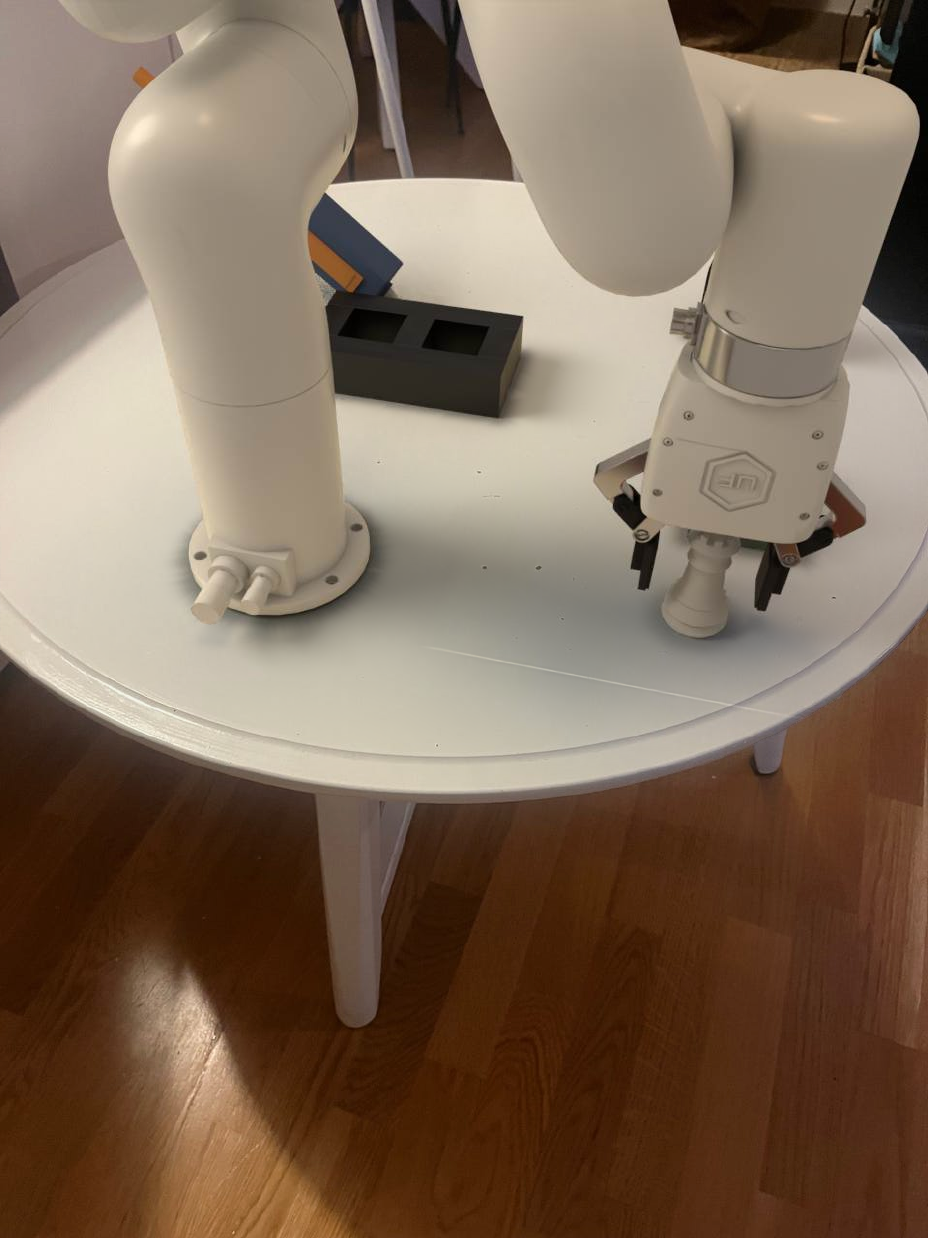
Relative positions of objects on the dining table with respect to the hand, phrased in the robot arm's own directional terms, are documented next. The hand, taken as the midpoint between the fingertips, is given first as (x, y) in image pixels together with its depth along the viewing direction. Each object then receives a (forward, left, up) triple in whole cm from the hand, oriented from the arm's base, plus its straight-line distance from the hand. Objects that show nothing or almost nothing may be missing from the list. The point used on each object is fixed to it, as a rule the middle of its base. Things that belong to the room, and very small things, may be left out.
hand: (702, 584), depth 64 cm
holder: (+24, +26, -3) cm, 36 cm away
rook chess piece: (0, 0, -3) cm, 3 cm away
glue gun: (+34, +41, -3) cm, 53 cm away
